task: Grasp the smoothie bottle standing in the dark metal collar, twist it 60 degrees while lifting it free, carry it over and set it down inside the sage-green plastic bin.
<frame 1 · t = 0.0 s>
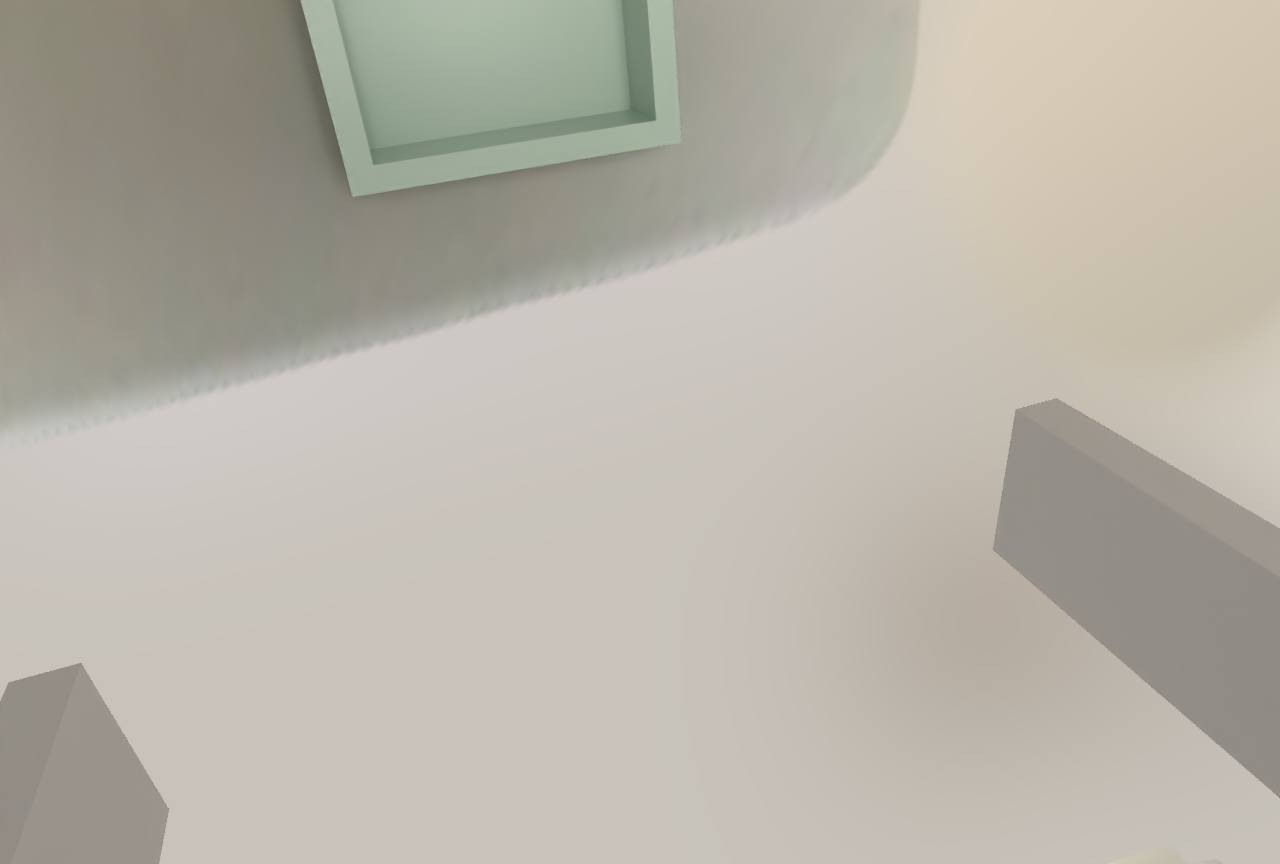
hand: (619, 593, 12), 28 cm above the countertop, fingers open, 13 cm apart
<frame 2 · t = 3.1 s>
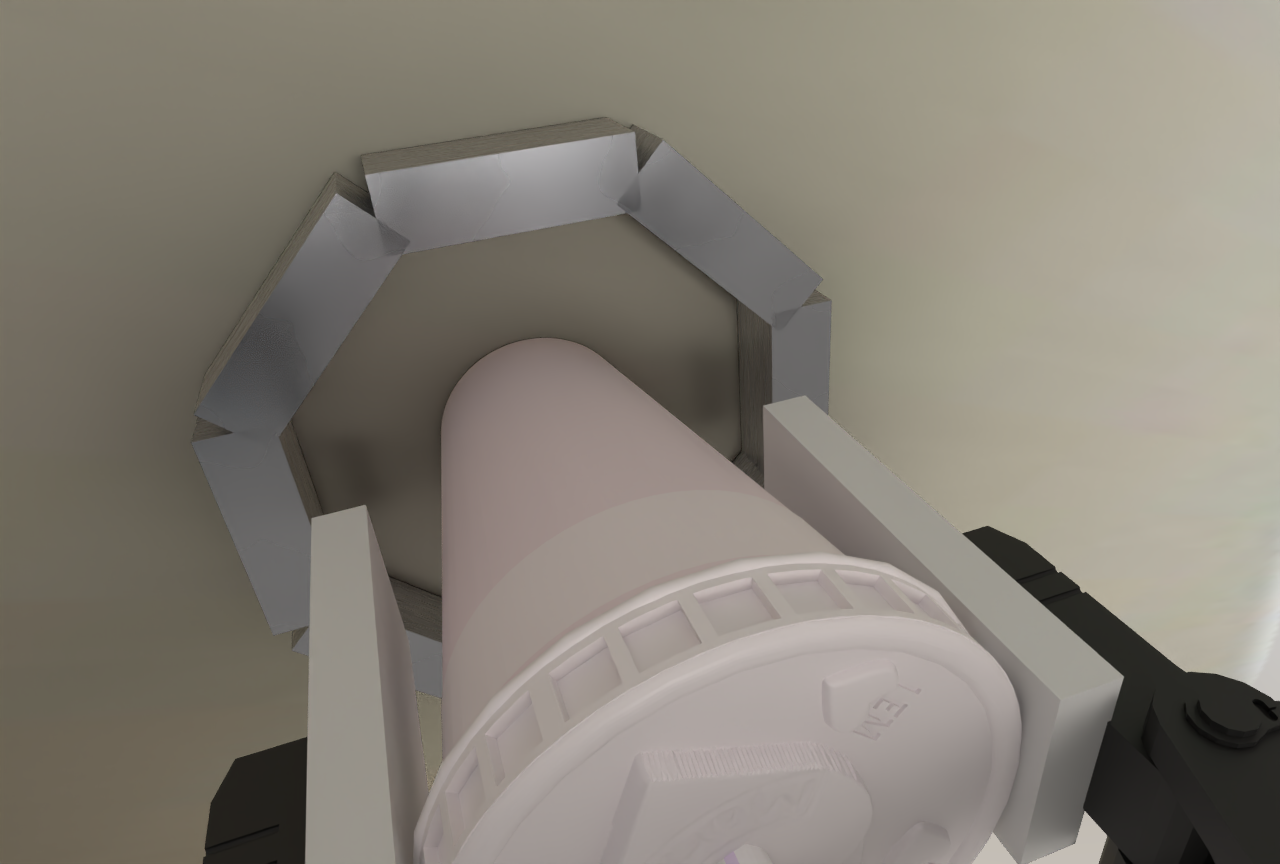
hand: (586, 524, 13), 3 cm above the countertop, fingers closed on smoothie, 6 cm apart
smoothie: (536, 422, 16), resting in collar, touching gripper
collar: (538, 427, 16), on the countertop
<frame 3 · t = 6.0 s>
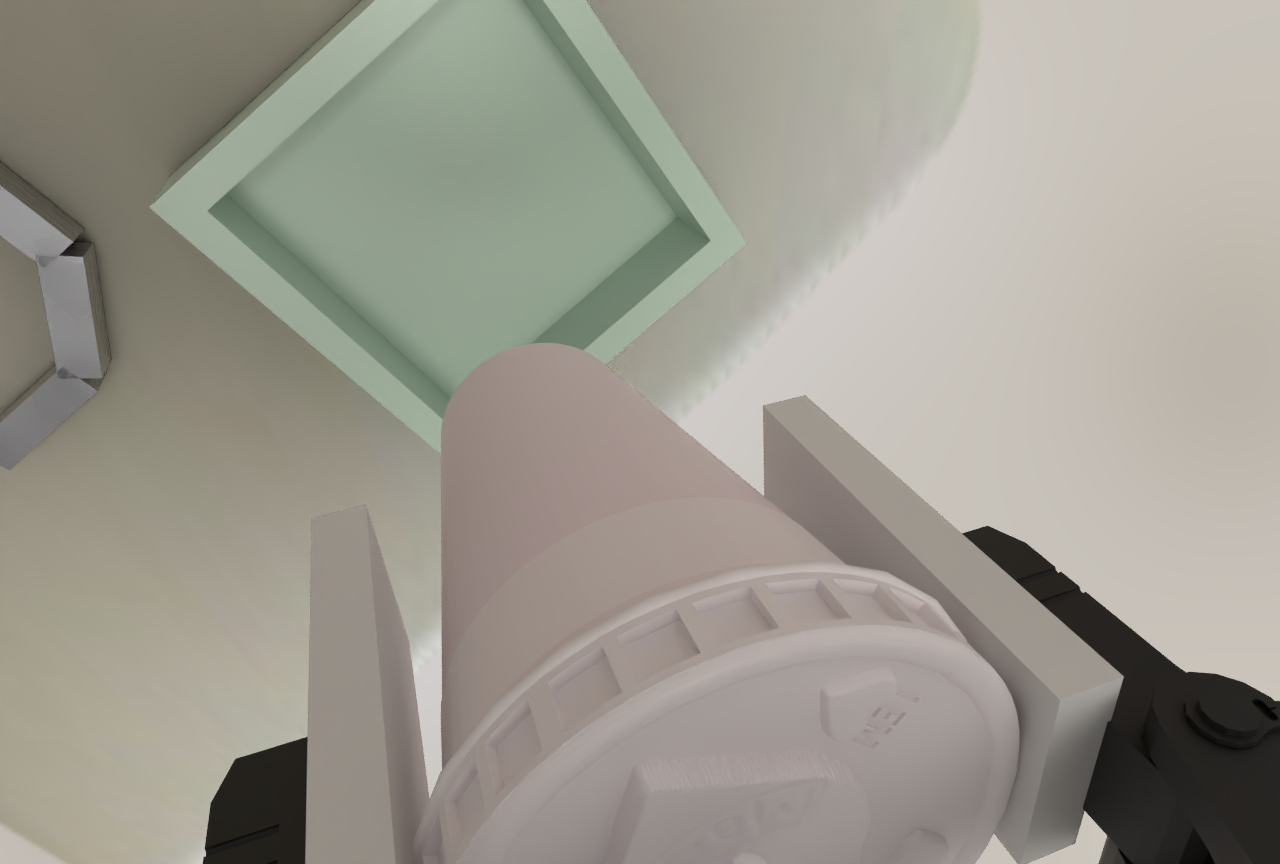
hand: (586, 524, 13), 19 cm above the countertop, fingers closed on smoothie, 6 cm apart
smoothie: (535, 427, 16), point 16 cm above the countertop, touching gripper
bin: (466, 197, 29), on the countertop
when the fingers open (5 cm above the countertop, at t = 9.0 s): smoothie drops 1 cm, resting on bin.
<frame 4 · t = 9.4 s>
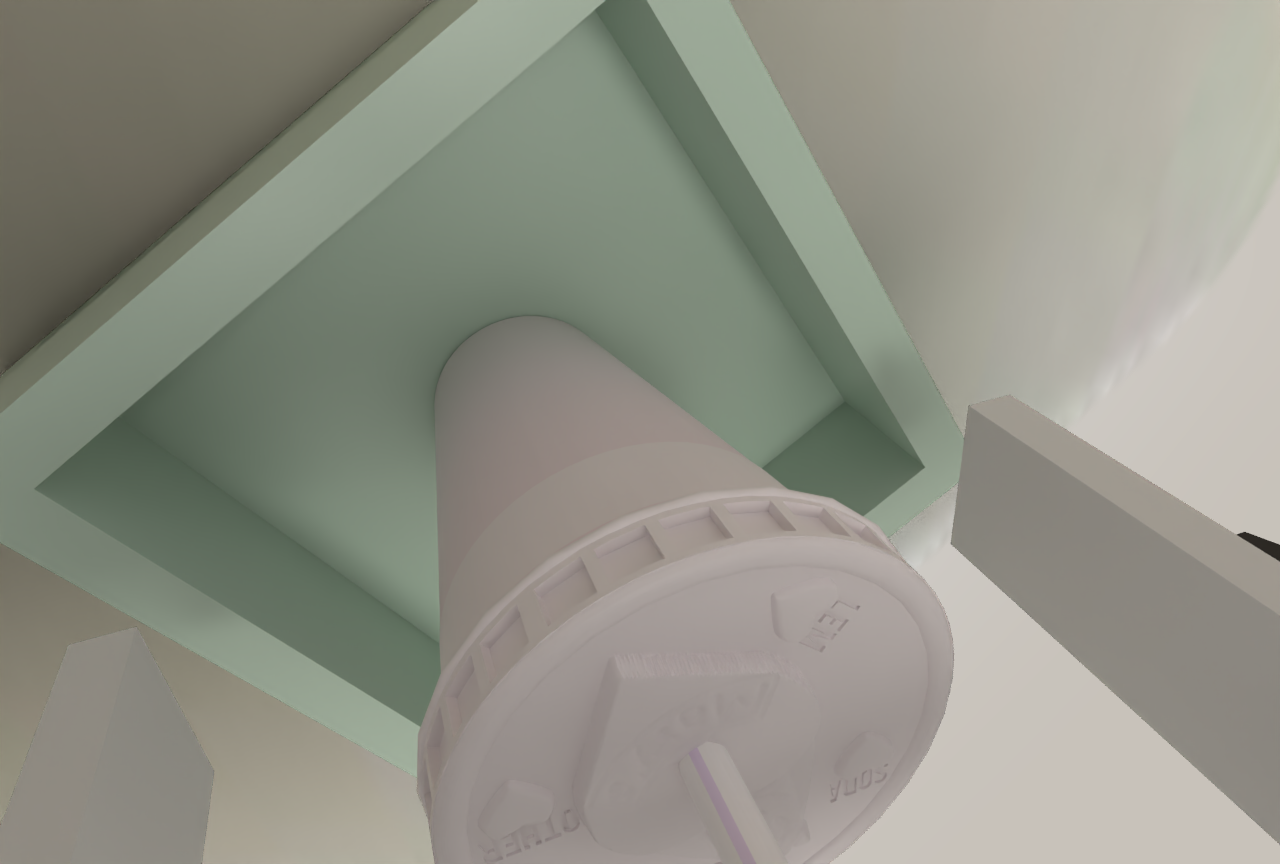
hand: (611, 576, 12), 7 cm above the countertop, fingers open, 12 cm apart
smoothie: (523, 396, 17), point 1 cm above the countertop, touching bin
bin: (518, 382, 18), on the countertop
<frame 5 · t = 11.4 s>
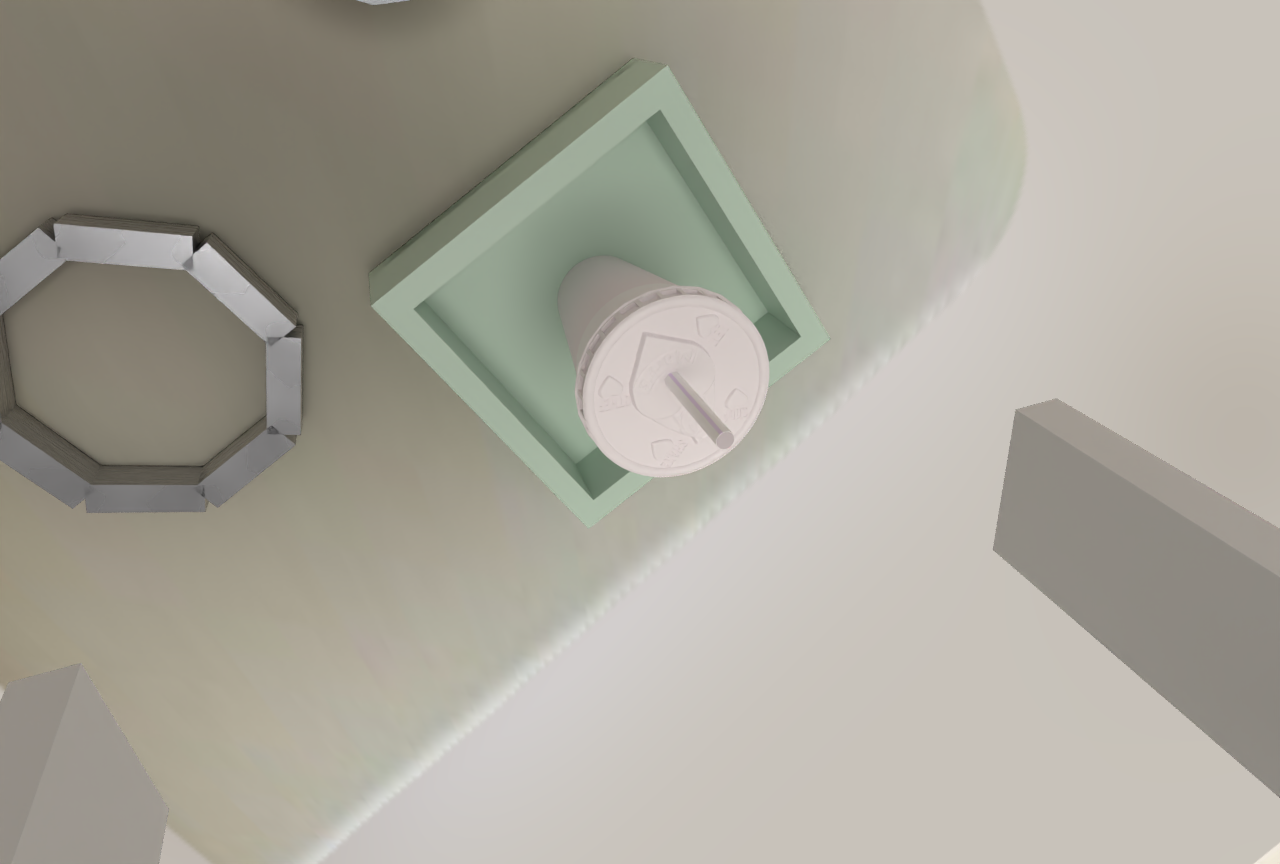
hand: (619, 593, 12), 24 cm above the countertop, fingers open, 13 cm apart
smoothie: (599, 298, 35), point 1 cm above the countertop, touching bin
collar: (145, 366, 31), on the countertop
bin: (596, 292, 35), on the countertop
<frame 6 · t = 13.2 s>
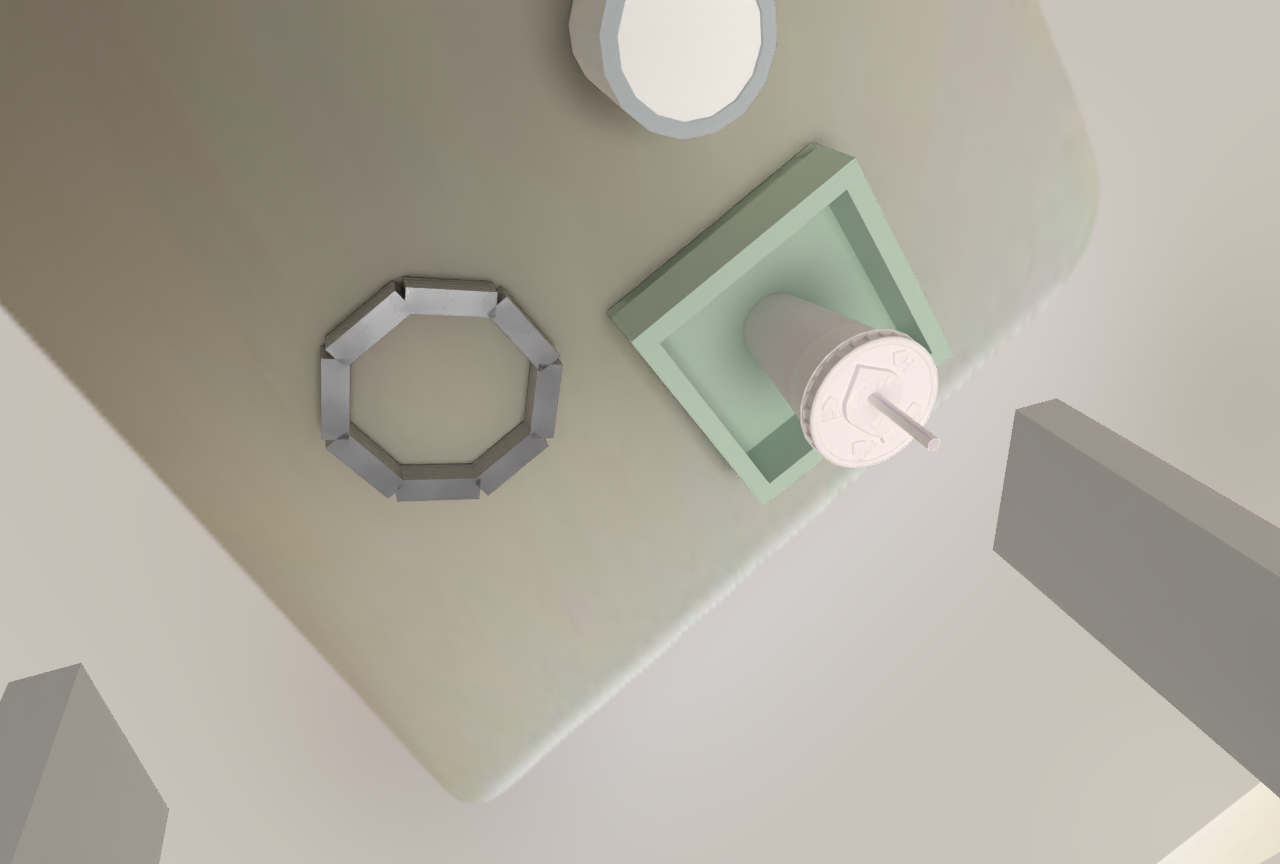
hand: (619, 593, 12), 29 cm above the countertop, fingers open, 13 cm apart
smoothie: (773, 324, 44), point 1 cm above the countertop, touching bin
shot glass: (630, 28, 36), on the countertop
collar: (441, 388, 40), on the countertop
bin: (769, 320, 45), on the countertop
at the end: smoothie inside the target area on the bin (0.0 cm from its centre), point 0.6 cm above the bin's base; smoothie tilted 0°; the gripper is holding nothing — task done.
